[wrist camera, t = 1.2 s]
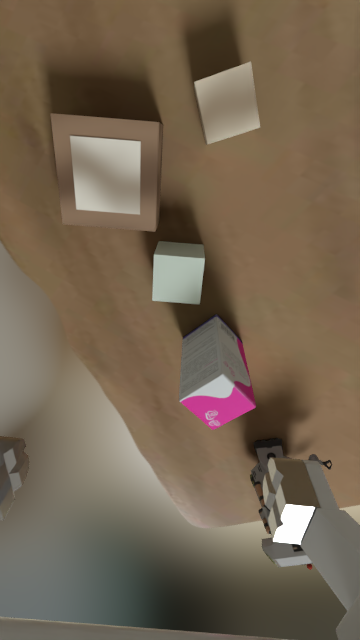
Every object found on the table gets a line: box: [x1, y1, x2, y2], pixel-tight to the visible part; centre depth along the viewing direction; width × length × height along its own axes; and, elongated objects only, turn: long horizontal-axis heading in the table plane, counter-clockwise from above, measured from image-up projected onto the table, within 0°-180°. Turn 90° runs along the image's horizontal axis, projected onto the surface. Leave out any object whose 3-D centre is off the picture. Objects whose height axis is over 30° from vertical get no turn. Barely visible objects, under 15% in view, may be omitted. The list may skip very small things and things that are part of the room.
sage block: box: [152, 241, 205, 304], centre depth 34 cm, size 5×5×5 cm
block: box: [194, 62, 260, 145], centre depth 27 cm, size 4×4×4 cm
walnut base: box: [50, 113, 163, 232], centre depth 30 cm, size 9×9×4 cm
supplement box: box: [179, 314, 256, 430], centre depth 36 cm, size 6×6×12 cm
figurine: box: [250, 438, 332, 570], centre depth 45 cm, size 9×12×15 cm
